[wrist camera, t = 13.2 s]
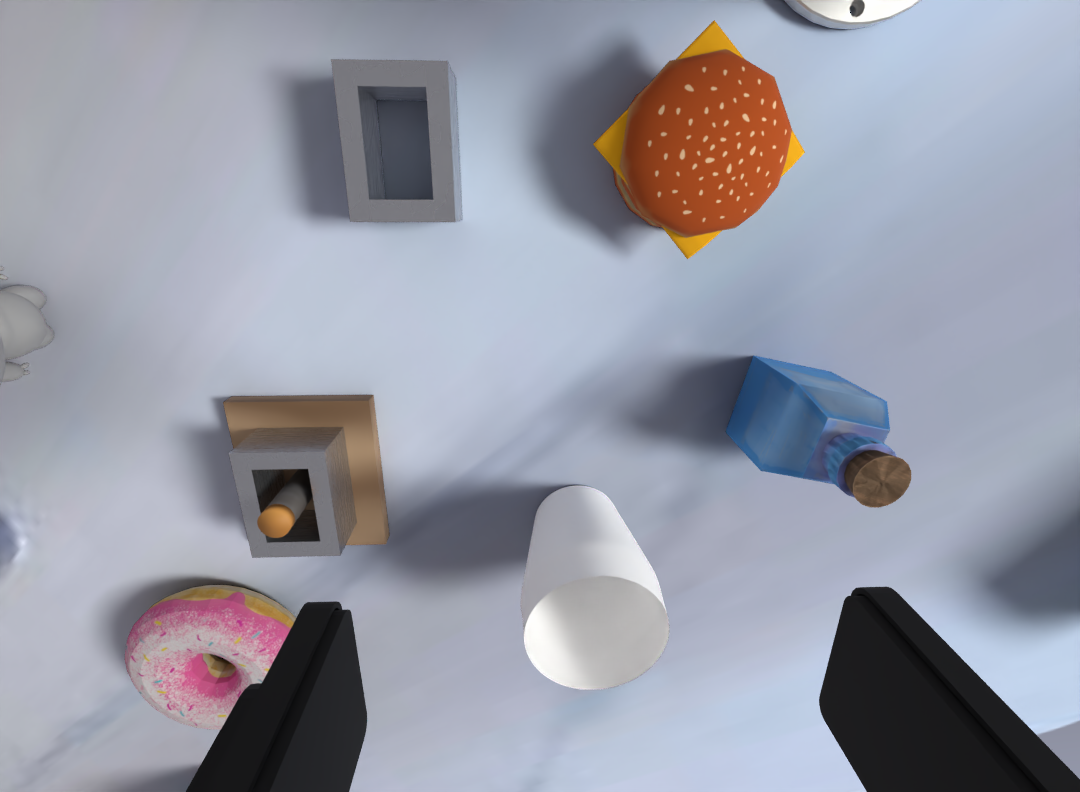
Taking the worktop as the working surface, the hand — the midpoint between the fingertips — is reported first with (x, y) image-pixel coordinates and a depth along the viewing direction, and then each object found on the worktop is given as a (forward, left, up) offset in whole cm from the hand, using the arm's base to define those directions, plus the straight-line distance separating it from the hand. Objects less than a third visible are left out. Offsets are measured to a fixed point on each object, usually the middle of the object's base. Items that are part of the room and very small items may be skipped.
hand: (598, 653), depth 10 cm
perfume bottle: (+6, +18, -29) cm, 34 cm away
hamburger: (-11, +9, -29) cm, 32 cm away
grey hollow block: (-11, -8, -28) cm, 31 cm away
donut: (+27, -26, -29) cm, 47 cm away
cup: (+16, +3, -28) cm, 33 cm away
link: (+11, -17, -27) cm, 34 cm away
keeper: (+11, -17, -28) cm, 35 cm away
